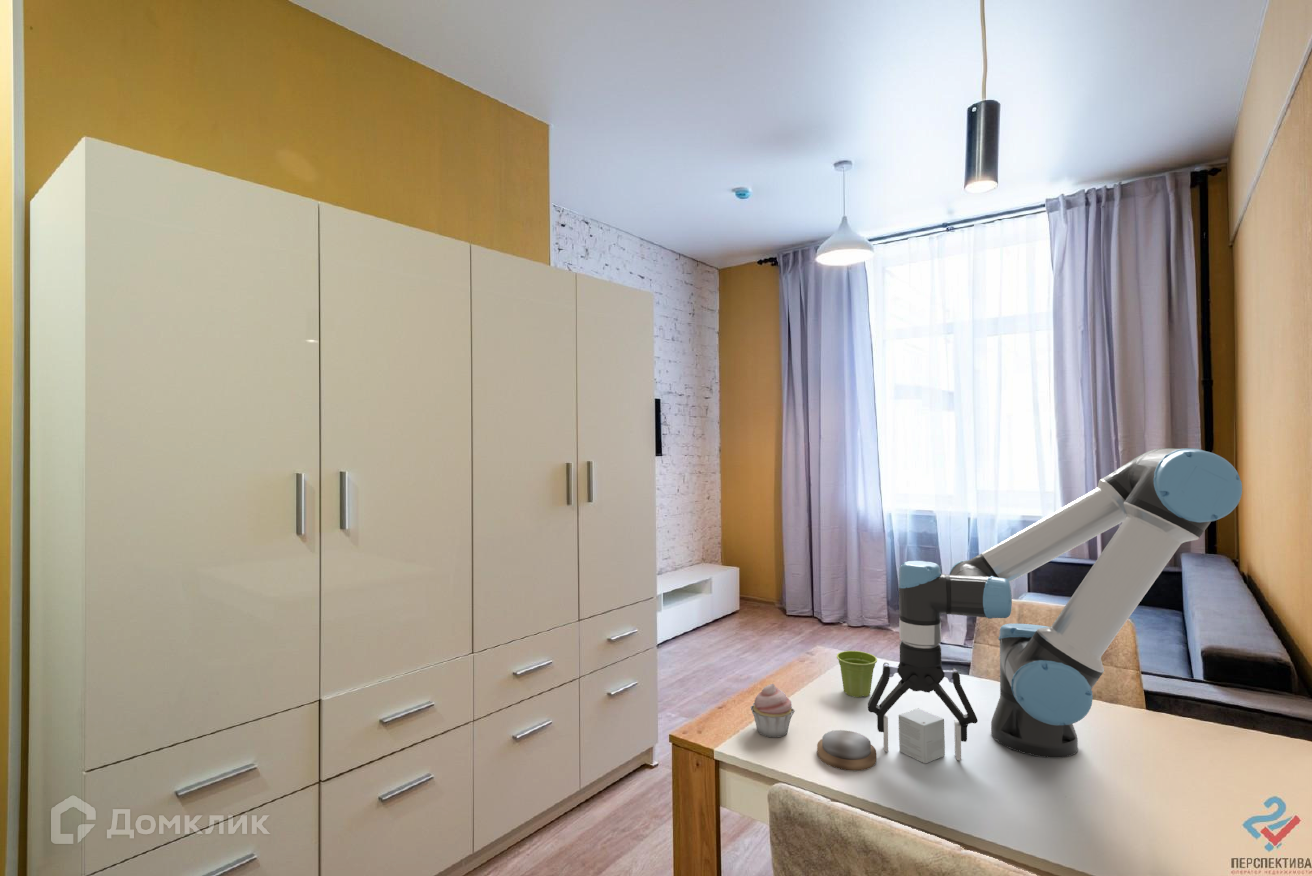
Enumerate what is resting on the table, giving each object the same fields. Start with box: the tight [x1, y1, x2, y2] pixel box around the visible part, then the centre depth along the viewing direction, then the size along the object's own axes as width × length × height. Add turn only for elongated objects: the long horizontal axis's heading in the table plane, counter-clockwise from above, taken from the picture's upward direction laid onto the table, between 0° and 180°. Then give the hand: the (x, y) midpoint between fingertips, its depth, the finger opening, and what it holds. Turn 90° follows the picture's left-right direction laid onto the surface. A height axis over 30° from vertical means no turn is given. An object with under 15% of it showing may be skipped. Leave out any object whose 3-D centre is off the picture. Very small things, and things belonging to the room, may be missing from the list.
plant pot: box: [836, 650, 878, 698], centre depth 157 cm, size 9×9×9 cm
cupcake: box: [750, 683, 796, 738], centre depth 137 cm, size 9×9×10 cm
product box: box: [898, 707, 946, 764], centre depth 126 cm, size 6×6×7 cm
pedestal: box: [816, 729, 877, 772], centre depth 126 cm, size 11×11×3 cm
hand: (921, 752), depth 126 cm, fingers open, 12 cm apart
